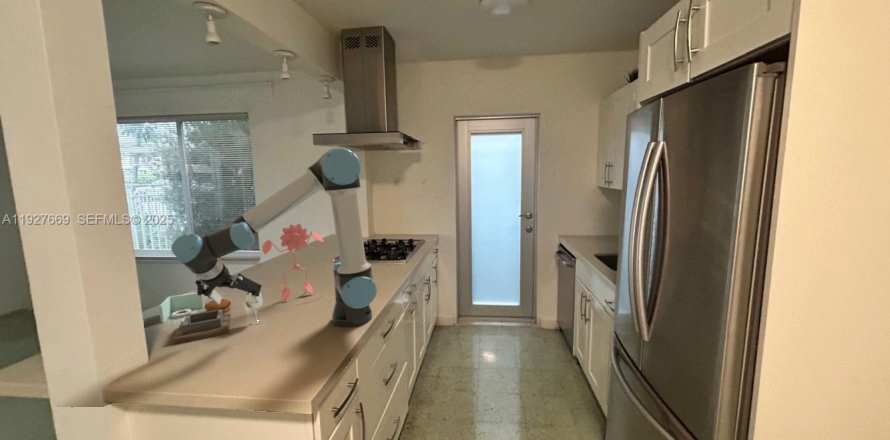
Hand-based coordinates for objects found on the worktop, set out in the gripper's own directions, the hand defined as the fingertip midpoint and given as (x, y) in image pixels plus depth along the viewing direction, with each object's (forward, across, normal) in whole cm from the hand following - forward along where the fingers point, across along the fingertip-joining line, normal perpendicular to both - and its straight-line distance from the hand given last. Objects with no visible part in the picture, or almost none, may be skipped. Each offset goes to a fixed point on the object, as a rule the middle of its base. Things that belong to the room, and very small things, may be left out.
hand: (239, 299), depth 126 cm
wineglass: (+15, +1, -3) cm, 15 cm away
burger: (+25, -21, +7) cm, 33 cm away
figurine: (+31, +10, +14) cm, 36 cm away
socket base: (+12, -16, -6) cm, 20 cm away
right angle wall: (+24, -34, +6) cm, 42 cm away
